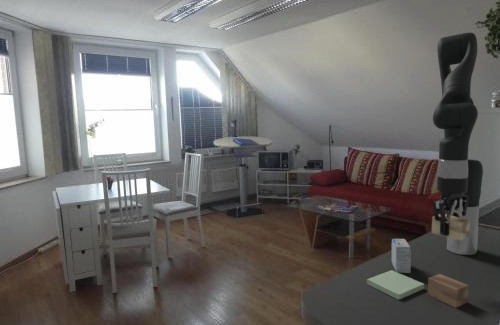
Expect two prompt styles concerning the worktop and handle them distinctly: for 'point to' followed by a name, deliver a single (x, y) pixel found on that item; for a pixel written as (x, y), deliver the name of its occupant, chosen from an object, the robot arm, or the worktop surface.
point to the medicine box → (401, 256)
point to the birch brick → (453, 227)
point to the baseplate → (395, 284)
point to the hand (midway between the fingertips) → (450, 232)
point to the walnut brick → (448, 290)
